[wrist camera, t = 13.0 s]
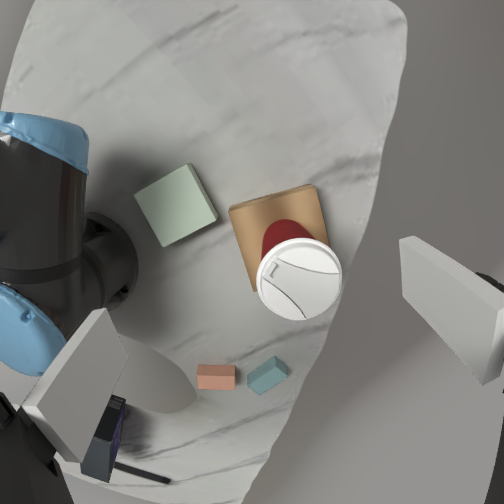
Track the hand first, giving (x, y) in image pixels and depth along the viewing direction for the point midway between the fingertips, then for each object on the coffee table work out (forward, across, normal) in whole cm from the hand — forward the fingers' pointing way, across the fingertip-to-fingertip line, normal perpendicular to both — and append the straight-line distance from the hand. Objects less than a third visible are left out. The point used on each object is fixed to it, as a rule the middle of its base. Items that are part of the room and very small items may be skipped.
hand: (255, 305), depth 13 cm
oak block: (+31, +3, -6) cm, 32 cm away
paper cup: (+27, +3, -6) cm, 28 cm away
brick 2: (+31, -4, -28) cm, 42 cm away
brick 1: (+31, -12, -27) cm, 43 cm away
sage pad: (+31, -9, +1) cm, 32 cm away
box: (+32, -38, -36) cm, 61 cm away
